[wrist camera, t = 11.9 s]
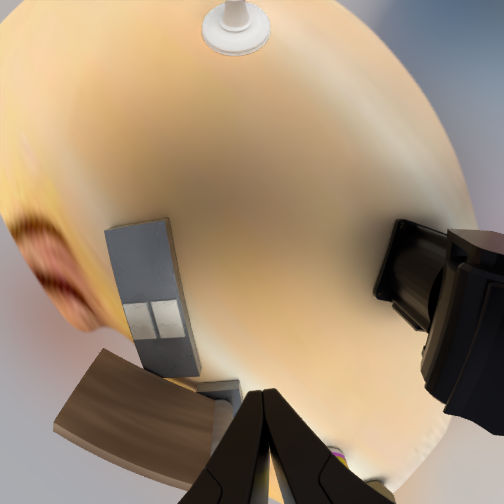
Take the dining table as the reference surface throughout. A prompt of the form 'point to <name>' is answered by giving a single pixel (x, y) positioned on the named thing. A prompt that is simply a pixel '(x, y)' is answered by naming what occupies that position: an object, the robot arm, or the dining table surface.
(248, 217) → the dining table surface
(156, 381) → the walnut gate
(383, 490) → the squeeze bottle
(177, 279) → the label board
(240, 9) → the chess piece
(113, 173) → the dining table surface
